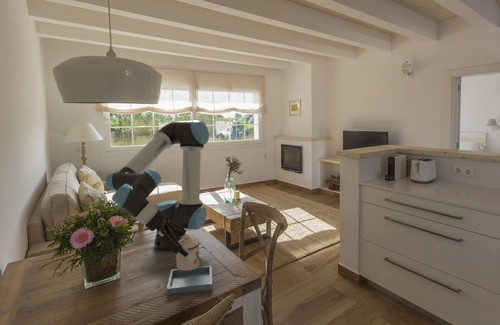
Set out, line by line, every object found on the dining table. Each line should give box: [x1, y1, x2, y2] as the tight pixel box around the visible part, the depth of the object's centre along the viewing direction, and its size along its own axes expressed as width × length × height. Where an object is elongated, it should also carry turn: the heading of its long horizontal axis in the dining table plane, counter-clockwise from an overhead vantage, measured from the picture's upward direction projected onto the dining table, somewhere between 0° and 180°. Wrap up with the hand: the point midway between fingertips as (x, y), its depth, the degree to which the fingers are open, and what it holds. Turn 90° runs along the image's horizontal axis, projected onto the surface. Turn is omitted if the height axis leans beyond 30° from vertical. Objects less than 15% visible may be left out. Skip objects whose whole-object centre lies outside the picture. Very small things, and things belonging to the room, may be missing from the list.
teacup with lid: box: [175, 235, 201, 271], centre depth 107 cm, size 12×9×12 cm
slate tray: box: [166, 265, 213, 297], centre depth 110 cm, size 14×17×3 cm
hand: (194, 252), depth 108 cm, fingers closed on teacup with lid, 12 cm apart
